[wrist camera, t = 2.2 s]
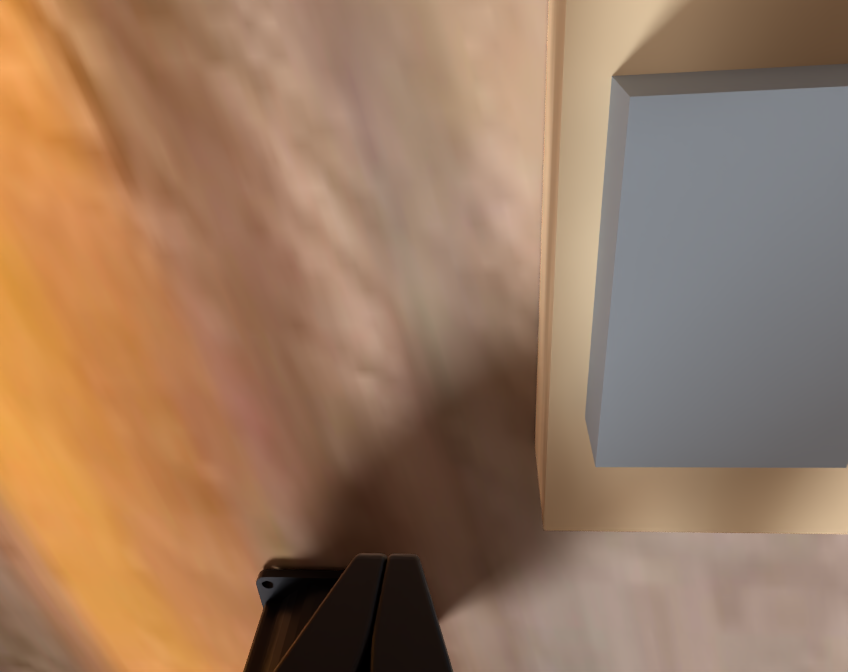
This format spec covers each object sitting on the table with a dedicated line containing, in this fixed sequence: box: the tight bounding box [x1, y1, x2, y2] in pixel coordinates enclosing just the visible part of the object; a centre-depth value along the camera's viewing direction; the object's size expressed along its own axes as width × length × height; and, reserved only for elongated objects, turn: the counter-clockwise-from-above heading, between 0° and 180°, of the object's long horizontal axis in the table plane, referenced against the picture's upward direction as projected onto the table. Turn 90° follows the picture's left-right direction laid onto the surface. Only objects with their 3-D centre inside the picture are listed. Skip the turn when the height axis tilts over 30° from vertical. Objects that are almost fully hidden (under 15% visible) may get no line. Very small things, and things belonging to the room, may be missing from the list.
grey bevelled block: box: [585, 64, 848, 468], centre depth 15 cm, size 6×9×2 cm, turn 4°
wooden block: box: [535, 0, 848, 534], centre depth 17 cm, size 11×18×4 cm, turn 4°
